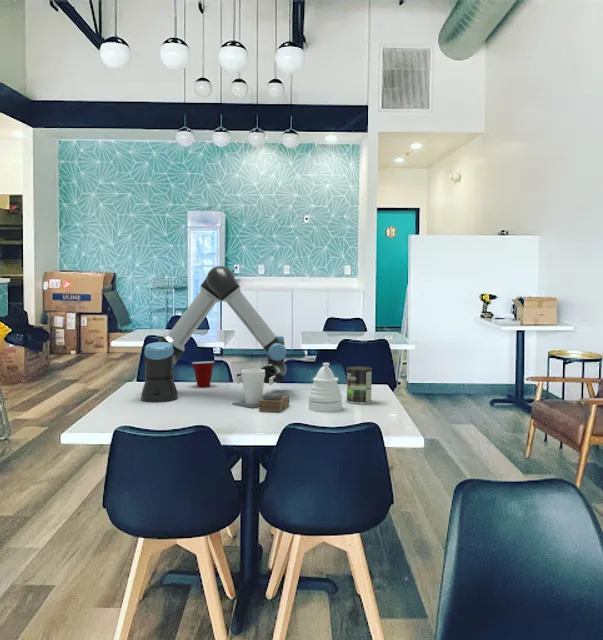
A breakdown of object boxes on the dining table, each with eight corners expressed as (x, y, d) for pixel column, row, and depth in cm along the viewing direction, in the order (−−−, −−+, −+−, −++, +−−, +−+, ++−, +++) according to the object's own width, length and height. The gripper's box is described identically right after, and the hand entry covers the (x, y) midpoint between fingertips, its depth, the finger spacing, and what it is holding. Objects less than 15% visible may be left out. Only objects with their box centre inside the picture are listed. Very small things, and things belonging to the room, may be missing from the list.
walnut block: (279, 412, 231) (279, 396, 230) (259, 411, 232) (259, 395, 232) (289, 405, 244) (289, 390, 244) (269, 404, 246) (269, 389, 246)
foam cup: (237, 402, 248) (237, 370, 247) (256, 399, 254) (256, 368, 253) (250, 405, 240) (249, 373, 240) (269, 402, 246) (269, 370, 245)
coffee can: (355, 405, 245) (355, 370, 244) (341, 401, 254) (341, 367, 253) (376, 402, 250) (376, 368, 249) (362, 398, 259) (362, 365, 258)
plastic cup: (207, 383, 300) (207, 359, 299) (219, 386, 292) (219, 361, 291) (187, 386, 293) (187, 361, 292) (199, 388, 285) (198, 363, 284)
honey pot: (344, 411, 232) (345, 364, 232) (311, 412, 231) (311, 365, 230) (338, 405, 245) (338, 360, 244) (306, 406, 243) (306, 360, 242)
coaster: (252, 408, 239) (252, 406, 239) (232, 404, 247) (232, 402, 247) (274, 404, 247) (274, 402, 247) (254, 400, 256) (254, 398, 255)
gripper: (297, 383, 264) (283, 391, 244) (242, 381, 270) (224, 388, 250) (297, 365, 264) (283, 372, 243) (242, 364, 270) (224, 370, 249)
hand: (253, 380), depth 246 cm, fingers open, 13 cm apart
